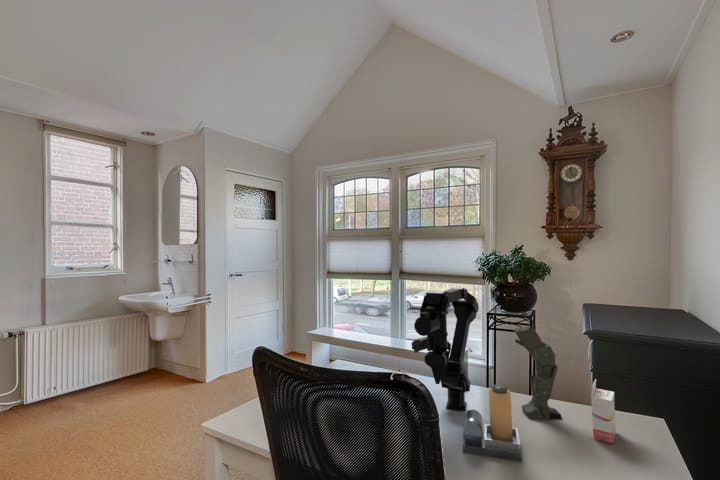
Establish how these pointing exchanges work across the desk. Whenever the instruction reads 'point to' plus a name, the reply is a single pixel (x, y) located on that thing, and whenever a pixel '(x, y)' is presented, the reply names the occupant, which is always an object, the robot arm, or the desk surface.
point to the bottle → (500, 413)
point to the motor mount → (488, 440)
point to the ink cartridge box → (603, 414)
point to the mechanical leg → (539, 374)
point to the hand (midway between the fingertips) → (439, 378)
